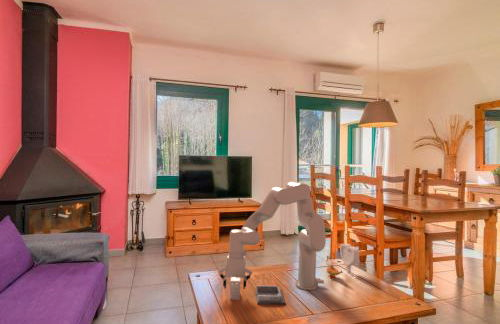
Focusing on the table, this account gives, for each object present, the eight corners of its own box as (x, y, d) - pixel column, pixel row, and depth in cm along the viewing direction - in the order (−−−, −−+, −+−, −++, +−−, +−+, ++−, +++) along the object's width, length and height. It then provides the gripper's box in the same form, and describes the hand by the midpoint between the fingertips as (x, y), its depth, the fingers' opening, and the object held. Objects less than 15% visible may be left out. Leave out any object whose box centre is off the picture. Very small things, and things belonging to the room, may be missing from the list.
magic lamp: (336, 285, 166) (337, 265, 165) (321, 272, 183) (321, 255, 183) (347, 284, 167) (348, 265, 167) (330, 271, 185) (331, 254, 185)
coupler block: (239, 293, 152) (240, 277, 152) (239, 299, 145) (240, 283, 145) (230, 292, 152) (230, 277, 152) (229, 299, 145) (230, 283, 145)
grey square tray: (281, 291, 155) (282, 285, 155) (285, 304, 141) (286, 297, 141) (255, 291, 155) (256, 284, 155) (257, 304, 141) (257, 297, 141)
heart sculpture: (338, 269, 189) (339, 242, 189) (345, 269, 190) (346, 241, 190) (352, 279, 174) (353, 249, 174) (359, 278, 175) (360, 249, 175)
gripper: (252, 252, 152) (251, 285, 152) (219, 251, 152) (218, 283, 152) (253, 257, 145) (251, 291, 145) (218, 256, 144) (217, 290, 144)
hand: (234, 287), depth 148 cm, fingers open, 9 cm apart
